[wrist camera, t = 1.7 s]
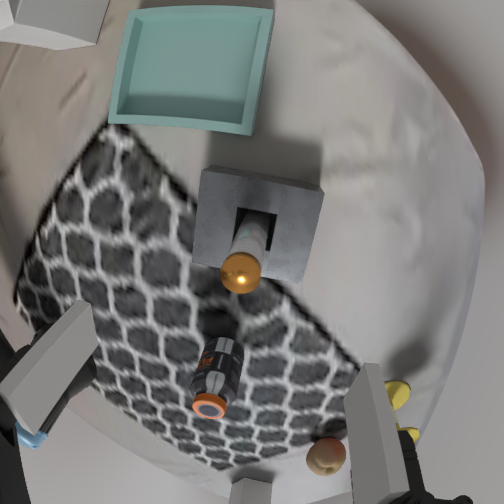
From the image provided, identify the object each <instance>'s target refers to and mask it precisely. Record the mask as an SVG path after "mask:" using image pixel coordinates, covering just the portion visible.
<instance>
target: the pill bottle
mask: <svg viewBox="0 0 504 504" xmlns="http://www.w3.org/2000/svg"><path fill="white" fill-rule="evenodd" d="M243 360H244V350H243V349H242V347H241V346H240V345H239V344H238V343H237V342H236V341H234V340H232V339H229V338H224V337H217V338H213V339H211V340H209V341H208V342H207V343H206V345H205V347H204V350H203V353H202V356H201V359H200V361H199V364H198V367H197V370H196V372H195V375H194V378H193V381H192V384H191V394H192V396H193V397H194V402H193V409H194V411H195V412H196V413H197V414H199V415H201V416H203V417H205V418H210V419H217V418H221V417H222V416H223V415H224V414H225V410H226V407H228V406H230V405H231V404H233V402H234V401H235V399H236V395H237V390H238V385H239V380H240V376H241V371H242V366H243Z"/></svg>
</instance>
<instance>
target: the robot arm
mask: <svg viewBox="0 0 504 504" xmlns="http://www.w3.org/2000/svg"><path fill="white" fill-rule="evenodd" d="M97 346H98V342H97V337H96V332H95V326H94V321H93V315H92V309H91V304H90V303H87V302H85V301H82V300H78V301H77V302H76V303H75V304H74V305H73V306H72V307H70V308H69V309H68V310H67V311H66V312H65V313H64V314H63V315H62V316H61V317H60V318H59V320H58V321H57V322H56V323H55V324H54V325H53V324H45V325H43V326H42V327H41V328H40V329H39V330H38V331H37V332H36V333H35V335H34V338H33V340H32V342H31V345H29V344H28V345H26V346H24V347H22V348H21V349H19V350H18V351H17V352H15V351H14V349H13V348H12V346H11V345H10V343H9V342H8V340H7V339H6V337H5V336H4V334H3V333H2V331H1V329H0V504H31V501H30V498H29V494H28V490H27V486H26V482H25V477H24V473H23V468H22V462H21V457H20V452H19V445H18V443H20V444H22V445H23V446H25V447H28V448H30V449H36V448H38V447H39V446H40V445H41V444H42V442H43V441H44V440H45V438H46V437H48V433H49V432H50V430H51V429H52V427H53V425H54V423H55V422H56V420H57V419H58V417H59V415H60V414H61V412H62V411H63V409H64V408H65V406H66V405H67V403H68V401H69V400H70V399H71V398H72V397H73V396H75V395H76V394H78V393H79V392H81V391H82V390H83V389H84V388H86V387H88V386H89V385H90V384H91V383H92V381H93V380H94V378H95V377H96V366H95V363H94V361H93V359H92V357H91V356H90V355H91V354H92V352H93V351H94V350H95V348H96V347H97ZM343 401H344V408H345V416H346V423H347V432H348V440H349V450H350V460H351V470H352V482H353V496H354V504H473V501H472V500H471V499H470V498H469V497H468V496H466V495H461V496H459V497H457V498H455V499H453V500H443V499H436V498H434V496H433V495H432V494H430V493H429V492H426V490H425V487H424V483H423V479H422V474H421V470H420V465H419V461H418V459H417V453H416V451H415V445H414V441H413V438H412V437H411V435H410V434H409V433H408V431H407V430H397V428H396V424H395V420H394V416H393V412H392V409H391V405H390V401H389V397H388V394H387V390H386V387H385V383H384V380H383V376H382V373H381V370H380V366H379V364H373V363H364V364H363V366H362V368H361V370H360V372H359V373H358V375H357V377H356V379H355V380H354V382H353V384H352V386H351V387H350V389H349V391H348V392H347V394H346V396H345V397H344V399H343Z"/></svg>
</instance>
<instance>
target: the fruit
mask: <svg viewBox="0 0 504 504" xmlns="http://www.w3.org/2000/svg"><path fill="white" fill-rule="evenodd" d="M345 459H346V450H345V447H344V445H343V444H342V443H341V442H340V441H339V440H337V439H335V438H322V439H320V440H318V441H317V442H316V443H315V444H314V445H313V446H312V447H311V448H310V450H309V452H308V454H307V457H306V462H307V465H308V467H309V468H310V470H311V471H313V472H314V473H316V474H318V475H321V476H329V475H332V474H334V473H336V472H337V471H338V470H339V469H340V468H341V466H342V465H343V463H344V462H345Z"/></svg>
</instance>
